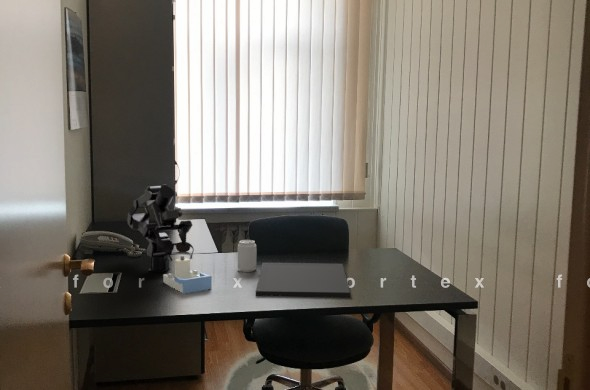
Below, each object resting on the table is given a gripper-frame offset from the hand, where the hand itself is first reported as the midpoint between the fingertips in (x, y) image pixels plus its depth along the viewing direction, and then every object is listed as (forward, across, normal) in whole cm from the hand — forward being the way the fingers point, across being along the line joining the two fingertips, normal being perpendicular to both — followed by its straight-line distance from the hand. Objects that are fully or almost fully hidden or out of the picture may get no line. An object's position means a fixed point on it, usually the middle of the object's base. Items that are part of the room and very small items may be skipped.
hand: (174, 247), depth 238 cm
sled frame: (+17, 0, 0) cm, 17 cm away
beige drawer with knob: (+14, 0, +3) cm, 14 cm away
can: (+12, +30, +5) cm, 32 cm away
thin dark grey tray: (+30, +39, -13) cm, 51 cm away
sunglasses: (-13, +18, +32) cm, 39 cm away
